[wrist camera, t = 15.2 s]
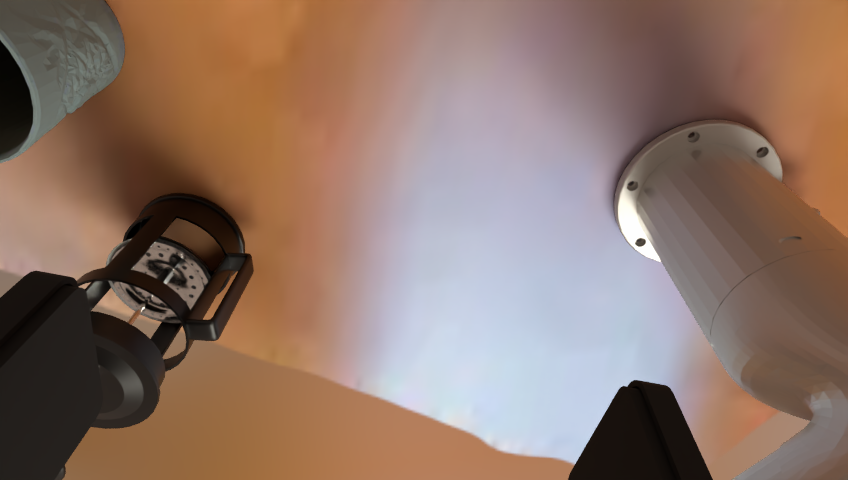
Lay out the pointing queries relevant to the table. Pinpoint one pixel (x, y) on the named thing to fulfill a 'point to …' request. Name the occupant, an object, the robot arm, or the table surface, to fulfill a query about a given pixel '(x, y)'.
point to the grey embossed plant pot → (52, 64)
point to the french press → (160, 302)
